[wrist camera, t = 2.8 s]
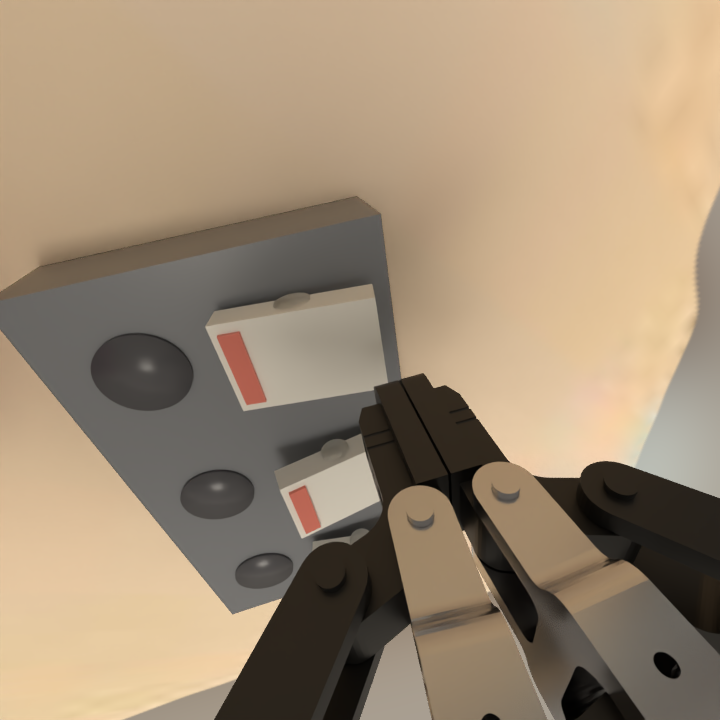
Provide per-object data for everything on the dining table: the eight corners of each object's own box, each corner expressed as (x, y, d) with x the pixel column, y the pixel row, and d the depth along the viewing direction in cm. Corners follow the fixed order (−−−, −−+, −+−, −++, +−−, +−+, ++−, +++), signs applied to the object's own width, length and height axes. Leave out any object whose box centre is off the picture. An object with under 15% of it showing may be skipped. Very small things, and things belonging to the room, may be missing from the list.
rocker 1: (250, 387, 17) (242, 413, 15) (217, 306, 14) (203, 328, 13) (384, 365, 16) (389, 390, 15) (371, 279, 14) (375, 299, 13)
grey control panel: (235, 558, 29) (232, 617, 26) (38, 267, 16) (-24, 307, 12) (405, 505, 31) (423, 554, 27) (357, 196, 17) (382, 214, 14)
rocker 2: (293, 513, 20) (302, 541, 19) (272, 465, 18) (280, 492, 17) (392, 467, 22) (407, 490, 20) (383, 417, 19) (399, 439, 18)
